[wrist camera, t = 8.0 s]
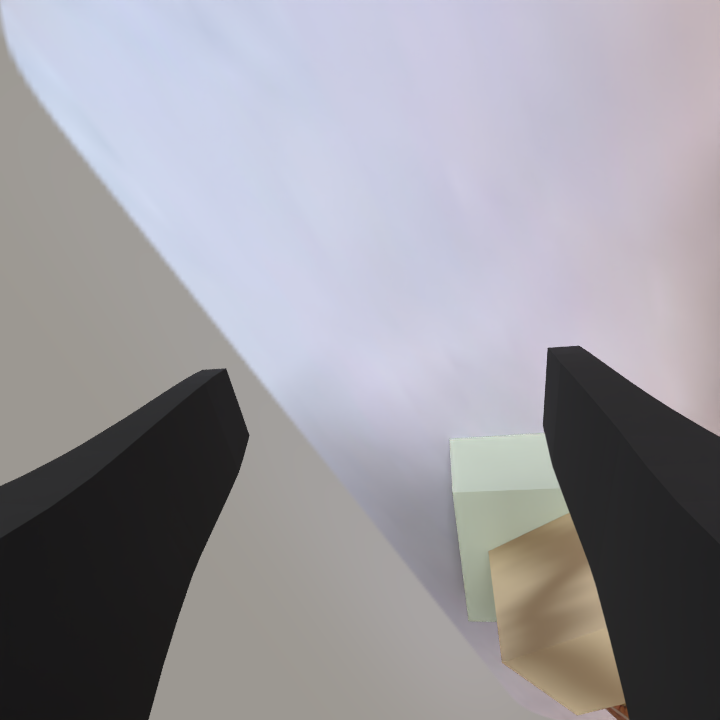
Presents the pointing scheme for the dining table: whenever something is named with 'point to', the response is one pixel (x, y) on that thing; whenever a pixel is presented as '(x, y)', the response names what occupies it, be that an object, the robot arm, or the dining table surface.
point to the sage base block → (498, 504)
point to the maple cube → (554, 618)
